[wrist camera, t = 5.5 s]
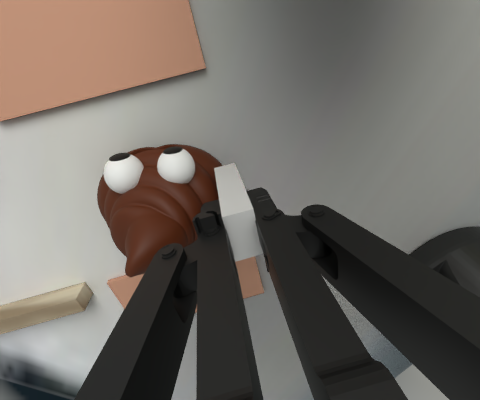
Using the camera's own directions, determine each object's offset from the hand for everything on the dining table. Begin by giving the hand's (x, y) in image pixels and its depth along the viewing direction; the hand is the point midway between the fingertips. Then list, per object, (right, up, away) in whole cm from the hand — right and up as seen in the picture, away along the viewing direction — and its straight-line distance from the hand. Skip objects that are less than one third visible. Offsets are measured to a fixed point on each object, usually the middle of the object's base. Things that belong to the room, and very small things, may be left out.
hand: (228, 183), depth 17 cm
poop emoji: (-5, 0, +3) cm, 6 cm away
